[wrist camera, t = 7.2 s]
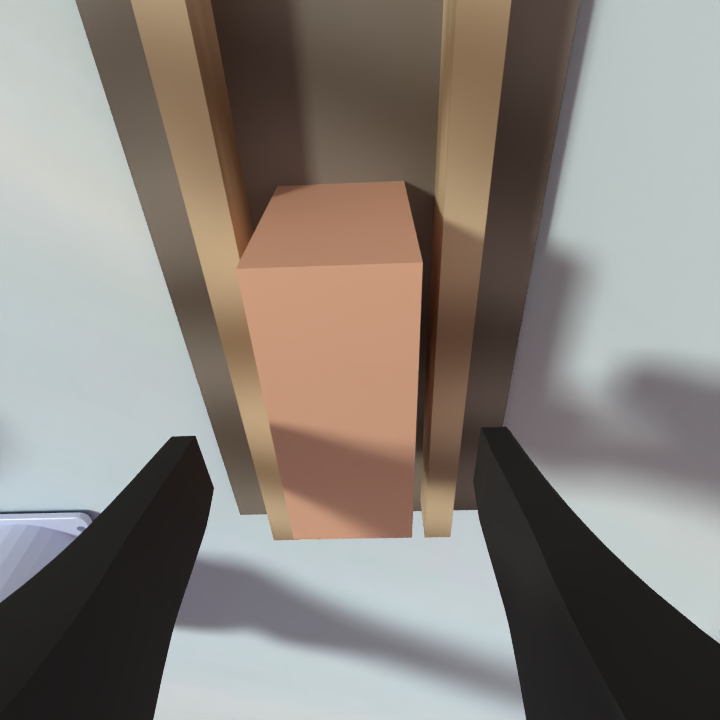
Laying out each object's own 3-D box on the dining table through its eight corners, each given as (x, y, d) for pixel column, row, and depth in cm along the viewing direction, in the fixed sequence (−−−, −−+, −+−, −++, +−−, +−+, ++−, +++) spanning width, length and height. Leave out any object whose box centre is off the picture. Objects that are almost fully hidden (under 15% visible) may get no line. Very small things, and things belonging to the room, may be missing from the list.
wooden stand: (484, 500, 25) (496, 548, 23) (242, 505, 26) (231, 552, 23) (598, -153, 11) (658, -195, 9) (50, -116, 11) (-28, -147, 9)
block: (277, 185, 15) (236, 268, 10) (403, 181, 15) (422, 262, 10) (310, 417, 21) (293, 539, 16) (400, 415, 21) (411, 537, 16)
